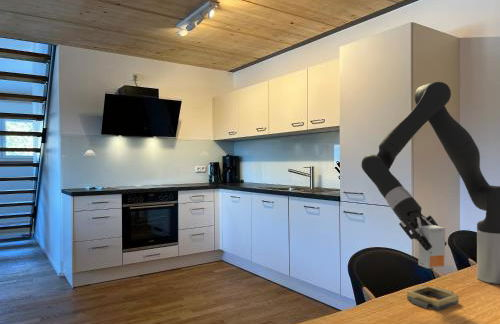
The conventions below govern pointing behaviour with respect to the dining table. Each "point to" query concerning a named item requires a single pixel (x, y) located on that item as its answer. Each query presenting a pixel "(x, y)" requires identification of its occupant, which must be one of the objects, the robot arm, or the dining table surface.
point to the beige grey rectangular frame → (421, 300)
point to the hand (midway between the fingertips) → (436, 247)
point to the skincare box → (433, 247)
